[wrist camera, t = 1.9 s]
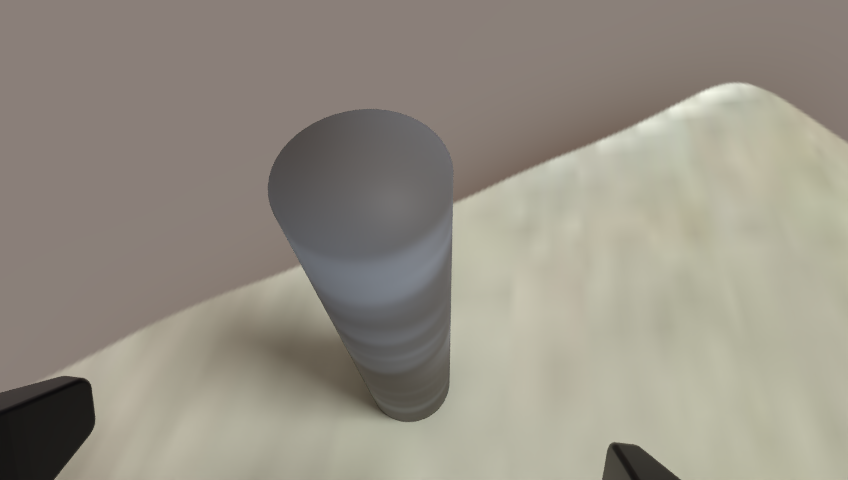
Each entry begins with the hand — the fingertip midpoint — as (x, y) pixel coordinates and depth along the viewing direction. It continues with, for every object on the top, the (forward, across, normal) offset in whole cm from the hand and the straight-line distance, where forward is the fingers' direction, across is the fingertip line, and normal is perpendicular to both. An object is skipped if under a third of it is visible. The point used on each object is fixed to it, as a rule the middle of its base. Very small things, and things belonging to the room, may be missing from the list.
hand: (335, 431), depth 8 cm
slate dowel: (+10, 0, +5) cm, 12 cm away
